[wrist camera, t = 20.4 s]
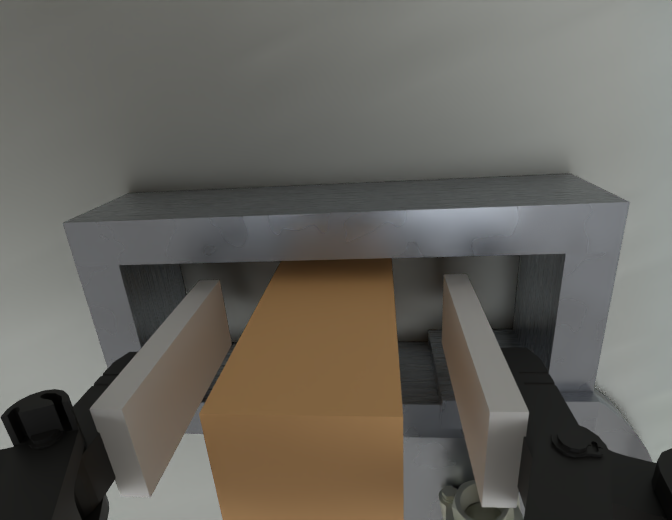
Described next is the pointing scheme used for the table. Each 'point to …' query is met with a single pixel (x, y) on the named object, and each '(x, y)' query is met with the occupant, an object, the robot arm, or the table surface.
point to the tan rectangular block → (312, 399)
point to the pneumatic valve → (472, 505)
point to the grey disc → (452, 454)
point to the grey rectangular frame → (367, 243)
